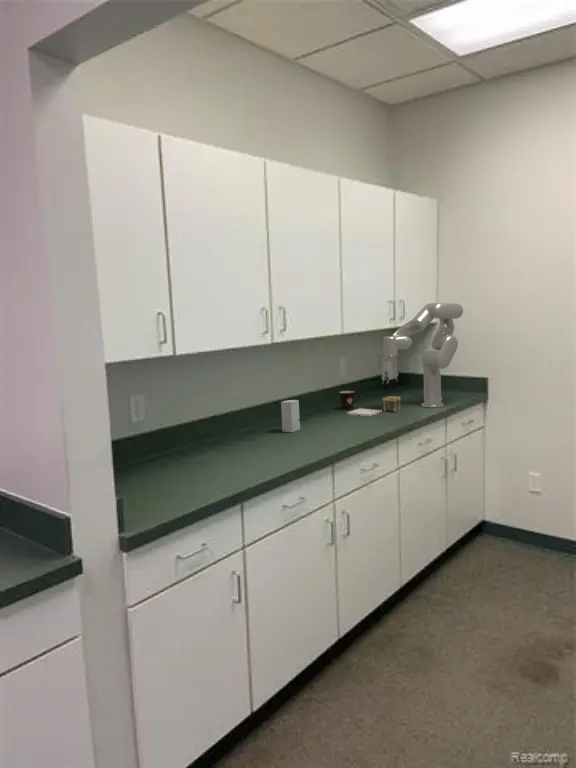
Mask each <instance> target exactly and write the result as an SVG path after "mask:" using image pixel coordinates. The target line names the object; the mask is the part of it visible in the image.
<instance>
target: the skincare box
mask: <svg viewBox="0 0 576 768" xmlns="http://www.w3.org/2000/svg"><path fill="white" fill-rule="evenodd" d="M299 401H300V400H298V399H289V400H283V401H281V402H280V406H281V407H280V408H281V427H282V428H281V430H282V432H283V433H285V432H286V433H294V432H297V431H299V430H301V422H300V421H301V420H300V405H299V404H300V403H299Z"/></svg>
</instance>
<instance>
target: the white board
mask: <svg viewBox="0 0 576 768" xmlns="http://www.w3.org/2000/svg"><path fill="white" fill-rule="evenodd" d="M380 412H381V413H383V410H382V409H374V408H373V409H371V408H357V409H354V410H353V409H352V410H349V411H347V413H346V415H347V414H349V415H348V416H357V415H360V416H361V417H369V416H370V417H372V415H373V416H376V415H378V414H380ZM377 413H378V414H377Z"/></svg>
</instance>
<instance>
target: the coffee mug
mask: <svg viewBox="0 0 576 768" xmlns="http://www.w3.org/2000/svg"><path fill="white" fill-rule="evenodd" d="M355 395H358V397H357V399H356V400H354V399H355ZM339 398H340V405H341V410H342V409H343V411H351V410H350V409H352V410H353V409H354V404H355V403H356V402H357V401H359V399H360V398H361V397H360V393H357V392H356V393H355V391H354V390H341V391H339Z"/></svg>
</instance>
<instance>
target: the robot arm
mask: <svg viewBox="0 0 576 768" xmlns="http://www.w3.org/2000/svg"><path fill="white" fill-rule="evenodd" d="M463 312H464V309H463V306H462V305H461V304H459V303H447V302H446V303H445V302H431V303H427V304H425V306H423V307H422V308H421V309H420V311H419V312H418V313H417V314H416V315H415V316H414V317H413V318H412V319H411V320H410V321H408V322H406V323H405V324H403V325H402V326H400V327H399V328H398V329H397V330H395V331H394V333H393V334H392V335H391V336H389V335H387V336H384V337H383V340H382V341H383V345H382V346H383V349H382V350H383V354H382V355H383V360H382V361H383V362H382V371H381V380H382V390H383V391H387V392H389V391H390V385H389V384H390V383H389V381H391V389H394V390H397V389H398V380H399V372H398V350H408V349H410V348H411V347H412V345H413V340H412V338H411V336H412V335H415V334H418V333H419V332H422V331H424V330H425V329H426V327H428V326H429V324H430V323H431V322H432V321H433V320H434V319H438V320H439V326H438V328H437V331H436V333H435V335H434V336H433V337H434V338H433V339H432V340H431V341H432V342H431V347H432V349H433V350H427V351H426V352H424V353H423V354H422V356H421V365H422V370H423V371H422V372H423V402H422V403H421V407H423V408H441V407H444V406H445V403H443V402H442V401H443V396H442V377H441V375H442V374H441V371H440V370H442V369H443V370H444V369H446V368H447V367H449V366H450V364H451V362H452V360H453V358H454V356H455V353H456V351H457V349H458V347H459V346H458V345H459V341H458V338H457V337H456V336H455V335H453V333H454V331H455V323H454V321H453V319H454V320H455V319H459V318H461V317H462V316H463Z"/></svg>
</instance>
